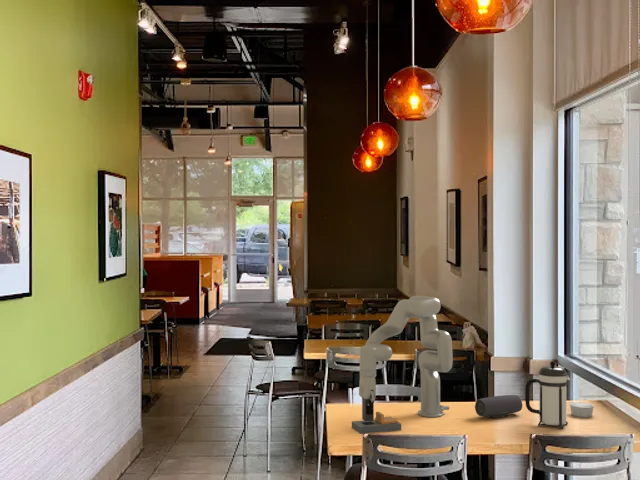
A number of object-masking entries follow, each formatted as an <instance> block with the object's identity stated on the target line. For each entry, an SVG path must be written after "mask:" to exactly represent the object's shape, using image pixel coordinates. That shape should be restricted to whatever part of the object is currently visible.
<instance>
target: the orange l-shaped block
mask: <svg viewBox="0 0 640 480" xmlns="http://www.w3.org/2000/svg"><path fill="white" fill-rule="evenodd" d="M374 419H375V420H376V421H377V422H379V423H381V424H390V423H398V422H399V420H398V419H396V418H394V417H392V416H385V414H383V413H382V412H381V411H375V417H374Z"/></svg>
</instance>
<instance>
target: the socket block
mask: <svg viewBox="0 0 640 480" xmlns="http://www.w3.org/2000/svg"><path fill="white" fill-rule="evenodd" d="M351 429H353V430H354V431H355V432H356V433H358V434H360V435H364V434H363V433H366V434H375V433H376V434H377V433H385V432H395V431H402V423H401V422H399V421H398V423H390V424H381V423H379V422H377V421H376V420H375V418H374V421H364V420H363V419H361V420H354V421H353V420H352V421H351Z"/></svg>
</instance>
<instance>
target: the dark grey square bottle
mask: <svg viewBox="0 0 640 480" xmlns="http://www.w3.org/2000/svg"><path fill="white" fill-rule="evenodd" d="M369 399H371V397H369ZM369 401H371V400H369ZM361 402H362V403H361V405H362V406H361V407H362V408H361V413H362V414H361V416H362V417H361V420H364V421H374V419H375V417H374V415H375V414H374V413H375V412H374V411H375V409H374V406H375V405H374V406H373V414H370V415H367V414H366V406H367V399H364V398H362V397H361Z"/></svg>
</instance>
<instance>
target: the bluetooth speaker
mask: <svg viewBox="0 0 640 480" xmlns="http://www.w3.org/2000/svg"><path fill="white" fill-rule="evenodd" d="M474 409H475V412H476V415H478V417H483V418H484V417H489V418H490V417H498V418H503V417H502V416H505V417H509V415H512V414H515V413H519V412H521V410H522V409H523V401H522V399H521V397H520V396H519V395H517V394H505V395H495V396H489V397H488V396H487V397H483V398H478V399H477V400H476V401H475V403H474Z"/></svg>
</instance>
